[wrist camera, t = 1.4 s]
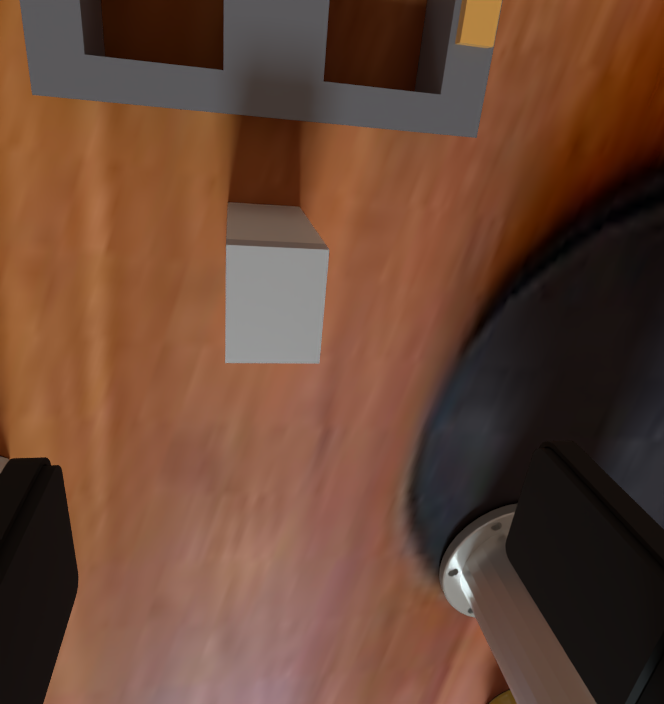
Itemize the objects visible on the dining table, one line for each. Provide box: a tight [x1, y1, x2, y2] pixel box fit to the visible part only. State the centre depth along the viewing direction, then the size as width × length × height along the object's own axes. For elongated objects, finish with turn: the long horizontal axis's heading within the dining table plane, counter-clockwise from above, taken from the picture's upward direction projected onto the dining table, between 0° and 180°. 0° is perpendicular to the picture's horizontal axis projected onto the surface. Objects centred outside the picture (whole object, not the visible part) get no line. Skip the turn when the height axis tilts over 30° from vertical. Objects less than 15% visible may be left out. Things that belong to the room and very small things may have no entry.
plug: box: [225, 202, 329, 363], centre depth 26 cm, size 4×5×10 cm
